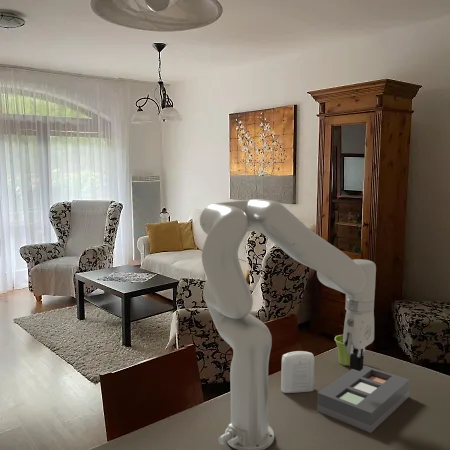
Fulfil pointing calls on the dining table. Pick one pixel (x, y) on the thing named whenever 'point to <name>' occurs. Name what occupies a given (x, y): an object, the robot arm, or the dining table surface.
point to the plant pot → (342, 351)
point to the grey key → (365, 387)
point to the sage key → (351, 398)
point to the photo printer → (297, 372)
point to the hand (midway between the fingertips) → (356, 368)
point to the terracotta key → (377, 379)
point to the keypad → (371, 404)
